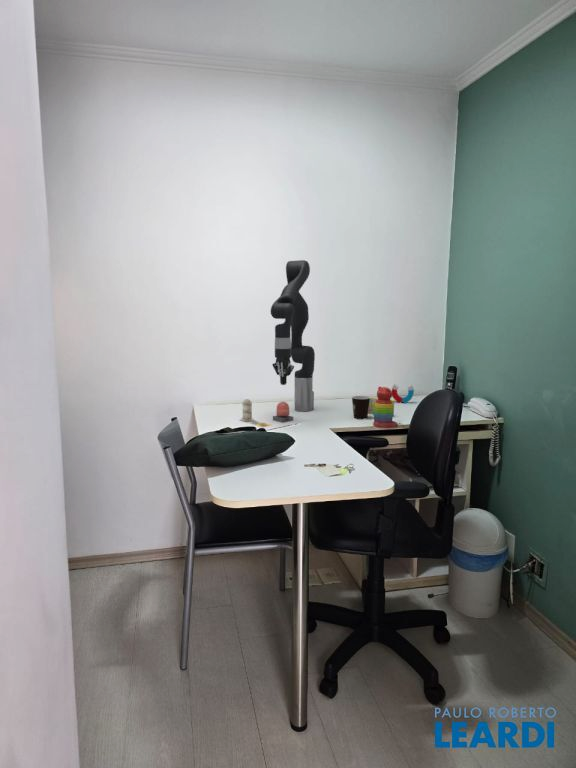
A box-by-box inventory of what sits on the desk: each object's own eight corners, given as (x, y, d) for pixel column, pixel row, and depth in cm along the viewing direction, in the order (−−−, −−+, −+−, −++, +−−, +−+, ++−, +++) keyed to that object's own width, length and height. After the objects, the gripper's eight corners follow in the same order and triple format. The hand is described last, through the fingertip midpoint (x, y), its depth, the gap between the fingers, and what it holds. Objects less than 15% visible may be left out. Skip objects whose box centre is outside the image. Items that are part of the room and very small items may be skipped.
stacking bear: (400, 426, 254) (401, 387, 251) (383, 429, 248) (384, 389, 245) (383, 421, 262) (384, 384, 259) (367, 424, 257) (368, 386, 254)
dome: (283, 412, 264) (283, 400, 263) (292, 414, 260) (292, 402, 259) (273, 414, 260) (273, 401, 259) (282, 416, 256) (282, 403, 255)
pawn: (248, 418, 264) (248, 397, 263) (255, 420, 260) (255, 399, 259) (238, 420, 261) (238, 399, 259) (246, 422, 257) (245, 400, 255)
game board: (269, 415, 275) (269, 410, 274) (300, 423, 259) (300, 417, 258) (226, 423, 258) (226, 418, 257) (256, 432, 241) (256, 426, 241)
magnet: (413, 402, 306) (414, 384, 305) (413, 403, 304) (413, 385, 302) (391, 401, 309) (392, 383, 308) (391, 402, 307) (391, 384, 305)
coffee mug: (368, 420, 265) (369, 399, 264) (350, 419, 267) (351, 398, 265) (370, 414, 276) (370, 395, 275) (352, 414, 278) (353, 394, 277)
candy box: (394, 416, 274) (394, 399, 272) (392, 417, 272) (392, 400, 271) (364, 412, 283) (365, 396, 282) (362, 413, 281) (363, 396, 280)
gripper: (298, 347, 252) (299, 385, 255) (279, 345, 262) (279, 381, 265) (286, 349, 247) (286, 387, 250) (267, 346, 257) (267, 383, 260)
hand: (283, 384), depth 258 cm, fingers closed
